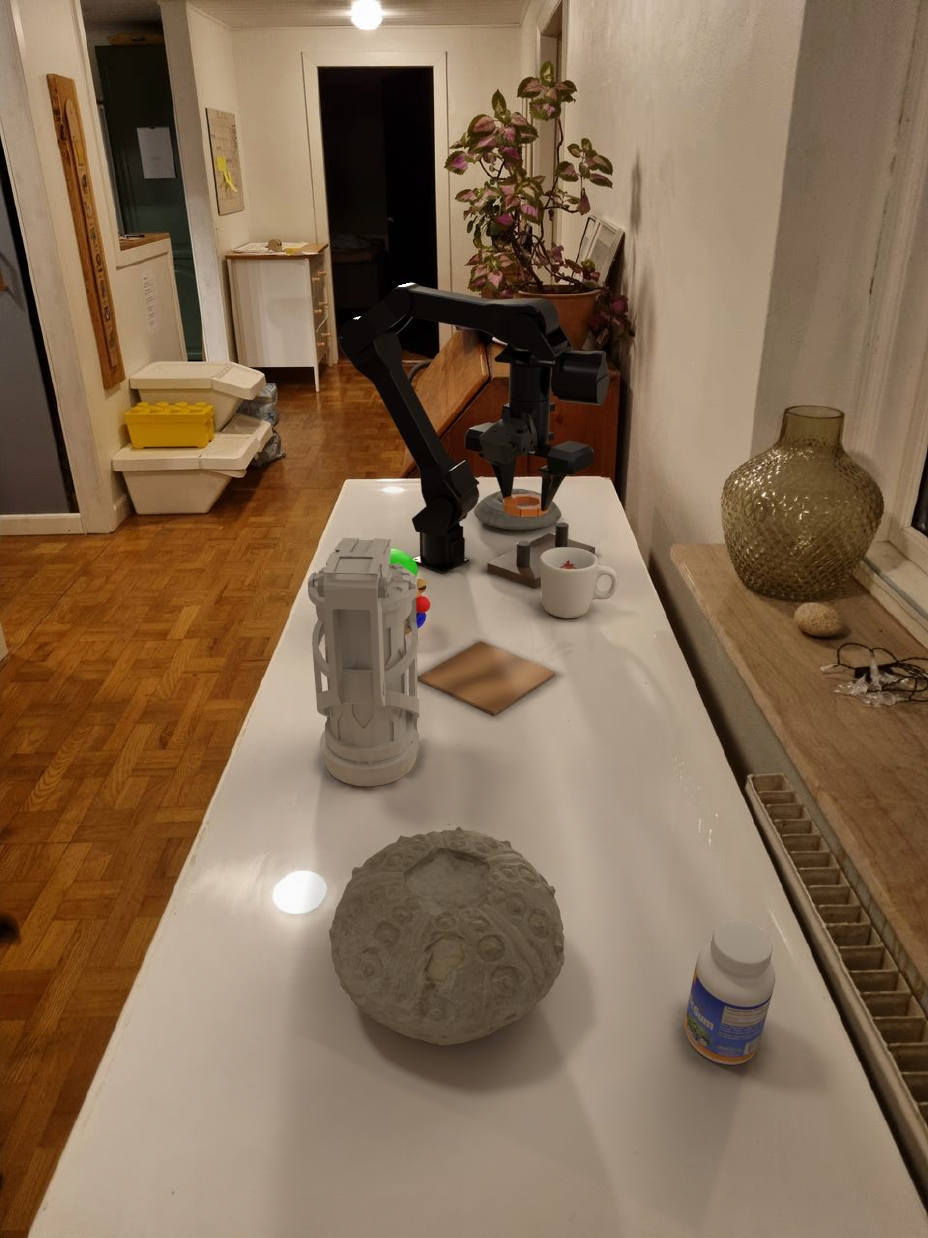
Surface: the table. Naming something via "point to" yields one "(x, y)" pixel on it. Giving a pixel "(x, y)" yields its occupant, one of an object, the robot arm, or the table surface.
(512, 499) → the ring
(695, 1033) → the pill bottle
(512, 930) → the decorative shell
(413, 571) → the figurine
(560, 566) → the cup
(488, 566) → the peg board
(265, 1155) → the table surface
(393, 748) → the lantern
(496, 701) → the cork mat
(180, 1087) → the table surface
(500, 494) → the flying saucer
